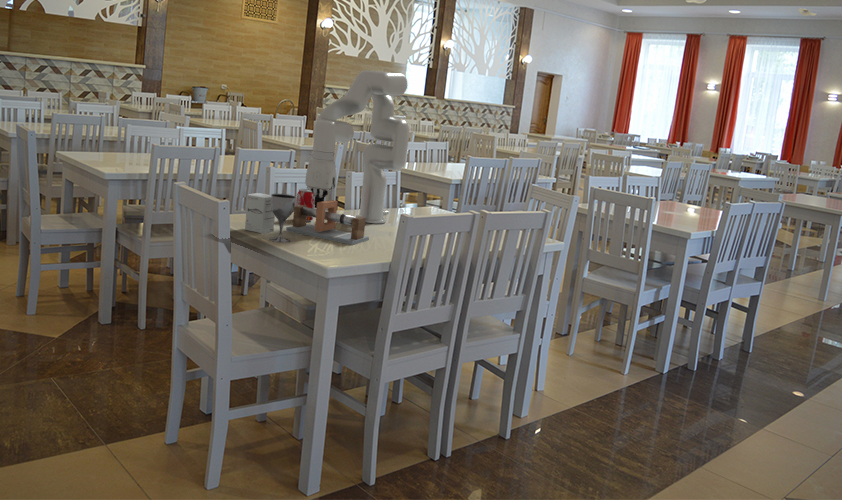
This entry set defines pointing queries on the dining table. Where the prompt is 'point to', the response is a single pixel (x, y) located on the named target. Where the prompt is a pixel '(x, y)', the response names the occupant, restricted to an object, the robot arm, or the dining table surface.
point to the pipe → (329, 216)
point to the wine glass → (282, 212)
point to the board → (327, 234)
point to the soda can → (306, 200)
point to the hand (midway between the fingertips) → (318, 207)
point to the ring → (321, 215)
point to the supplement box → (259, 213)
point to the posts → (357, 223)
